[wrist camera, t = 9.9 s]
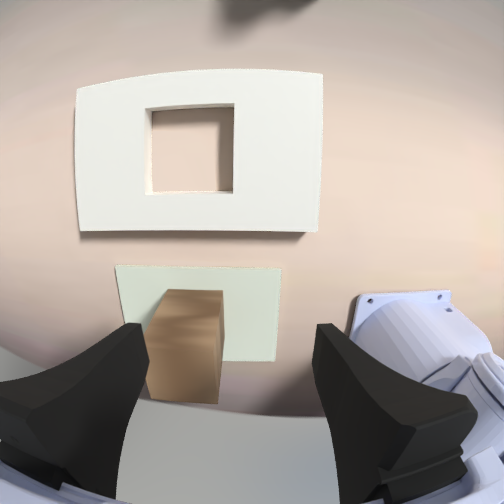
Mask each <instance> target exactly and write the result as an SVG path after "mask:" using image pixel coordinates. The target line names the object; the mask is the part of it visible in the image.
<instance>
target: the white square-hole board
mask: <svg viewBox="0 0 504 504" xmlns="http://www.w3.org/2000/svg"><path fill="white" fill-rule="evenodd" d="M217 107H234V154H233V191H173V192H152V111H162V110H175V109H191V108H217ZM322 136H323V74H317V73H308V72H298V71H285V70H268V69H209V70H191V71H178V72H168V73H159V74H151V75H144V76H137V77H131V78H125V79H119V80H114V81H109V82H104V83H99V84H95V85H91V86H86V87H82V88H78V89H77V95H76V111H75V180H76V196H77V208H78V218H79V227H80V231H116V230H232V231H293V232H317V231H318V218H319V203H320V186H321V166H322Z"/></svg>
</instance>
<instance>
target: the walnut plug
mask: <svg viewBox="0 0 504 504" xmlns="http://www.w3.org/2000/svg"><path fill="white" fill-rule="evenodd" d="M144 339H145V343H146V348H147V352H148V356H149V360H150V363H149V367H148V371H147V375H146V382H147V386H148V389H149V393H150V396H151V399H159V400H168V401H178V402H190V403H205V404H218V397H219V387H220V377H221V368H222V358H223V349H224V340H225V328H224V299H223V290H186V289H168V290H167V292H166V293H165V295H164V297H163V299H162V301H161V303H160V304H159V306H158V308H157V310H156V312H155V314H154V316H153V317H152V319H151V321H150V323H149V325H148V327H147V329H146V331H145V333H144Z"/></svg>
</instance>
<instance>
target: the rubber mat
mask: <svg viewBox="0 0 504 504" xmlns="http://www.w3.org/2000/svg"><path fill="white" fill-rule="evenodd" d="M115 269H116V276H117V282H118V288H119V294H120V299H121V305H122V310H123V315H124V320H125V324H126V323H128V322H130V323H141V325H142V330H143V335H144V333H145V331H146V329H147V327H148V325H149V323H150V321H151V319H152V317H153V316H154V314H155V312H156V310H157V308H158V306H159V304H160V303H161V301H162V299H163V297H164V295H165V293H166V292H167V290H168V289H186V290H223V299H224V328H225V340H224V349H223V358H222V361H275V355H276V343H277V330H278V316H279V302H280V286H281V268H246V267H187V266H145V265H116V266H115Z"/></svg>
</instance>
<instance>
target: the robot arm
mask: <svg viewBox="0 0 504 504" xmlns="http://www.w3.org/2000/svg"><path fill="white" fill-rule="evenodd" d="M451 295H452V293H451V292H450V291H449V290H434V291H417V292H398V293H374V294H362V295H360V296H359V297H358V299H357V303H356V308H355V313H354V318H353V323H352V328H351V332H350V337H349V338H348V337H347V336H346V335H345V334H344V333H342V332H341V331H340V330H339V329H338V328H337V327H335V326H334V325H333V324H332V323H329V324H317V329H316V337H315V344H314V351H313V358H312V367H313V373H314V378H315V383H316V387H317V390H318V393H319V396H320V399H321V402H322V405H323V408H324V412H325V415H326V418H327V421H328V424H329V428H330V432H331V437H332V443H333V448H334V454H335V461H336V468H337V477H338V486H339V497H340V504H504V360H503V359H501V358H500V357H498V356H497V355H495V354H494V353H493V352H492V348H491V345H490V342H489V340H488V338H487V337H486V335H485V334H484V333H483V332H482V331H481V330H480V329H479V328H478V327H477V326H476V325H475V324H473V323H472V322H471V321H470V320H469V319H468V318H467V317H466V316H465V315H464V314H462V313H461V312H460V311H459V310H458V309H457V308H456V307H455V306H453V305H452V304H451V303H450V299H451ZM438 296H439V297H438ZM437 297H438V298H437ZM369 299H371V301H370V302H367V301H368V300H369ZM149 363H150V360H149V356H148V352H147V348H146V343H145V339H144V335H143V330H142V325H141V323H130V322H128V323H126V324H124V325H123V326H121V327H120V328H118V329H117V330H115V331H114V332H112V333H111V334H109V335H108V336H107V337H105V338H104V339H102V340H101V341H99V342H98V343H96V344H95V345H93V346H92V347H90V348H89V349H87V350H85V351H84V352H82V353H81V354H79V355H77V356H76V357H74V358H72V359H70V360H68V361H66V362H64V363H62V364H60V365H58V366H56V367H53V368H51V369H48V370H46V371H43V372H40V373H38V374H35V375H31V376H28V377H24V378H20V379H16V380H10V381H4V382H0V439H1V442H0V504H130V503H126V502H122V501H118V500H116V487H117V476H118V468H119V462H120V456H121V451H122V446H123V441H124V437H125V433H126V429H127V425H128V422H129V419H130V417H131V414H132V412H133V409H134V407H135V404H136V402H137V399H138V397H139V395H140V392H141V390H142V387H143V385H144V382H145V379H146V375H147V371H148V367H149Z"/></svg>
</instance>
